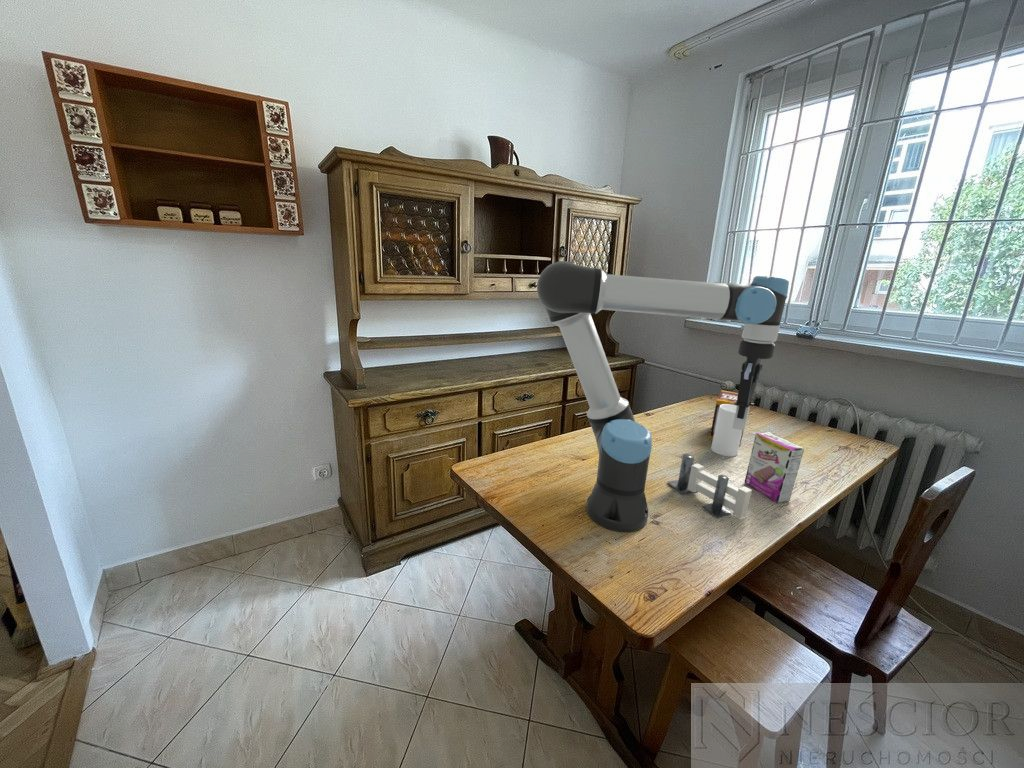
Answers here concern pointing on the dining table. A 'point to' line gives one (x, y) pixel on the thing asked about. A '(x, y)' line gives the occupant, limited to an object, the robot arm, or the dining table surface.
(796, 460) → the candy bar box
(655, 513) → the dining table surface
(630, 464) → the robot arm
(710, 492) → the gate
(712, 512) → the post
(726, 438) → the cup
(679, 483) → the post
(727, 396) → the supplement box
